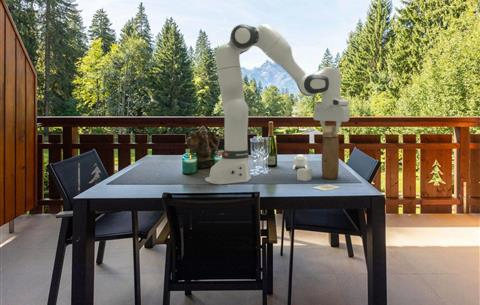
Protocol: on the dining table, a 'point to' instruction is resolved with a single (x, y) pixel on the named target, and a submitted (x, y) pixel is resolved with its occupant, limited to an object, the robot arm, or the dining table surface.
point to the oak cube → (329, 131)
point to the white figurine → (300, 161)
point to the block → (330, 157)
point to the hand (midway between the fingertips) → (330, 130)
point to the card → (326, 187)
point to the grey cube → (304, 174)
